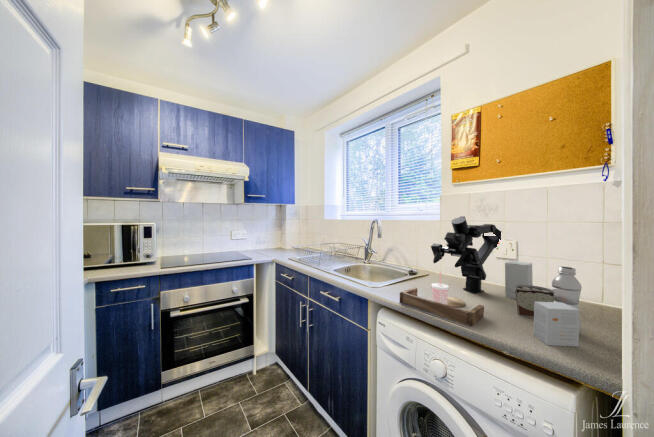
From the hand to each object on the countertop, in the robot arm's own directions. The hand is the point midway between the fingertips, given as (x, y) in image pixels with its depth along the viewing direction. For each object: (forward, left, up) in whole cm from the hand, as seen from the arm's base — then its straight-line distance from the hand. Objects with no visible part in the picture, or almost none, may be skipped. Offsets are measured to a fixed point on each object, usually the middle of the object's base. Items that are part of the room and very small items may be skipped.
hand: (444, 264), depth 99 cm
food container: (-20, +21, -16) cm, 33 cm away
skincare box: (-34, +9, -16) cm, 38 cm away
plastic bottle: (-15, +33, -16) cm, 39 cm away
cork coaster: (-2, +2, -16) cm, 16 cm away
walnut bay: (+7, +5, -16) cm, 18 cm away
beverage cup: (+7, +5, -16) cm, 18 cm away
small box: (-5, +35, -16) cm, 38 cm away
